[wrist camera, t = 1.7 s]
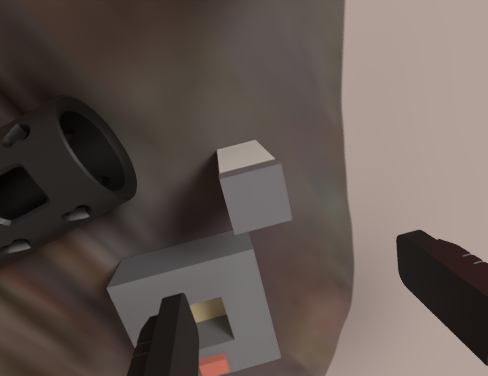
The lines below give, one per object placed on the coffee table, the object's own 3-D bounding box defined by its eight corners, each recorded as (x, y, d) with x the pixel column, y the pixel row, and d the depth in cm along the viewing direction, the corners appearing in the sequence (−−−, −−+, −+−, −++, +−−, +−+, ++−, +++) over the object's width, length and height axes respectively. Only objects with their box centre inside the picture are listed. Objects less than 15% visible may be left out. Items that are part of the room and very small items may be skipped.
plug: (216, 149, 29) (219, 179, 18) (255, 139, 29) (281, 163, 18) (226, 187, 30) (234, 235, 20) (264, 177, 30) (292, 219, 20)
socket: (122, 259, 31) (103, 294, 26) (246, 226, 32) (254, 253, 26) (163, 354, 36) (154, 400, 30) (272, 323, 36) (283, 364, 31)
